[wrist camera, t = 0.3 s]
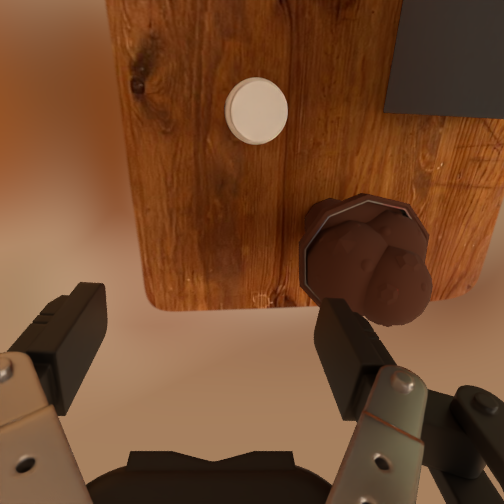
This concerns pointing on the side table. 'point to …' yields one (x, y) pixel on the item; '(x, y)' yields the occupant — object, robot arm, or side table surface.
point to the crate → (448, 59)
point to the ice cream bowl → (367, 258)
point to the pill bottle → (256, 110)
